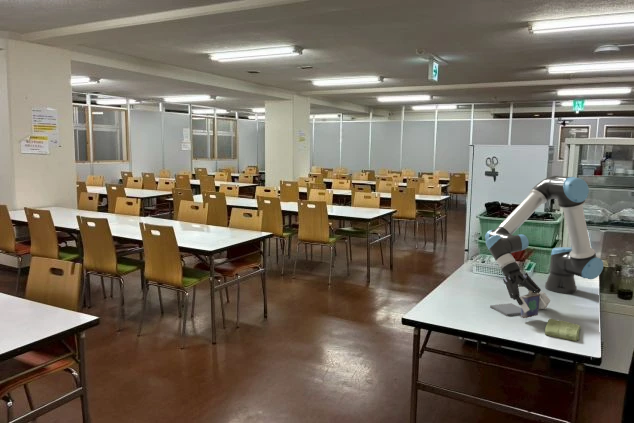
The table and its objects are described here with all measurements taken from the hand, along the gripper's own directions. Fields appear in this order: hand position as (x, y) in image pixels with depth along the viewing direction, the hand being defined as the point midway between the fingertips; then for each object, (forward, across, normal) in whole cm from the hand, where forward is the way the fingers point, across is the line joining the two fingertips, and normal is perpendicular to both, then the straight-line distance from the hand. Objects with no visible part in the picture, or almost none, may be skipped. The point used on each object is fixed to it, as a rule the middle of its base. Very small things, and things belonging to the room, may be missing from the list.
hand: (535, 309), depth 203 cm
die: (-4, -18, -13) cm, 22 cm away
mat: (-7, -2, -16) cm, 17 cm away
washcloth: (+13, -2, +4) cm, 14 cm away
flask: (+1, 0, -5) cm, 5 cm away
